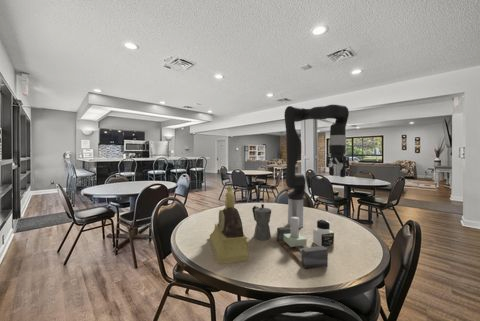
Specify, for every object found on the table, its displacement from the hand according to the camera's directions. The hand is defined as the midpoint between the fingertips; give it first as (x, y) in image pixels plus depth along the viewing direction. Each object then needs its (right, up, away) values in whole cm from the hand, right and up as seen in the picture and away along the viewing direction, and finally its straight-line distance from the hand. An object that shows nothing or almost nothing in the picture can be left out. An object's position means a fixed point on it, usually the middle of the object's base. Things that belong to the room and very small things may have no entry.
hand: (336, 176), depth 109 cm
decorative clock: (-56, -35, -6) cm, 66 cm away
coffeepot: (-38, -34, +9) cm, 52 cm away
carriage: (-23, -32, -6) cm, 40 cm away
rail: (-22, -34, -10) cm, 42 cm away
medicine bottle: (-8, -34, -2) cm, 35 cm away
